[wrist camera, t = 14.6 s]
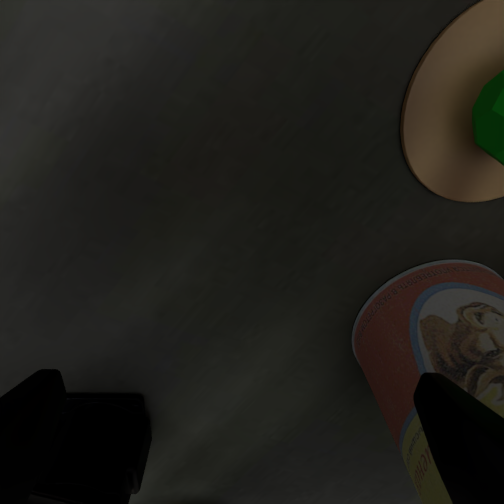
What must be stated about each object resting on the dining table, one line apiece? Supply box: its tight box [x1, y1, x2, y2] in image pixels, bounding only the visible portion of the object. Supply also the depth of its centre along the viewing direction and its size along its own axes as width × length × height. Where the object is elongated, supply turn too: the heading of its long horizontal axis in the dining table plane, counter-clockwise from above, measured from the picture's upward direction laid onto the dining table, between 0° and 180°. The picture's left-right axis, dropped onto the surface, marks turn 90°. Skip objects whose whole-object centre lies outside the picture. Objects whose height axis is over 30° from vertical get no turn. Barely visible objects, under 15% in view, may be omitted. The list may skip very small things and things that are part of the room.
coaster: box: [400, 0, 504, 202], centre depth 17 cm, size 10×10×1 cm
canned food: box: [352, 260, 504, 504], centre depth 18 cm, size 11×11×12 cm
